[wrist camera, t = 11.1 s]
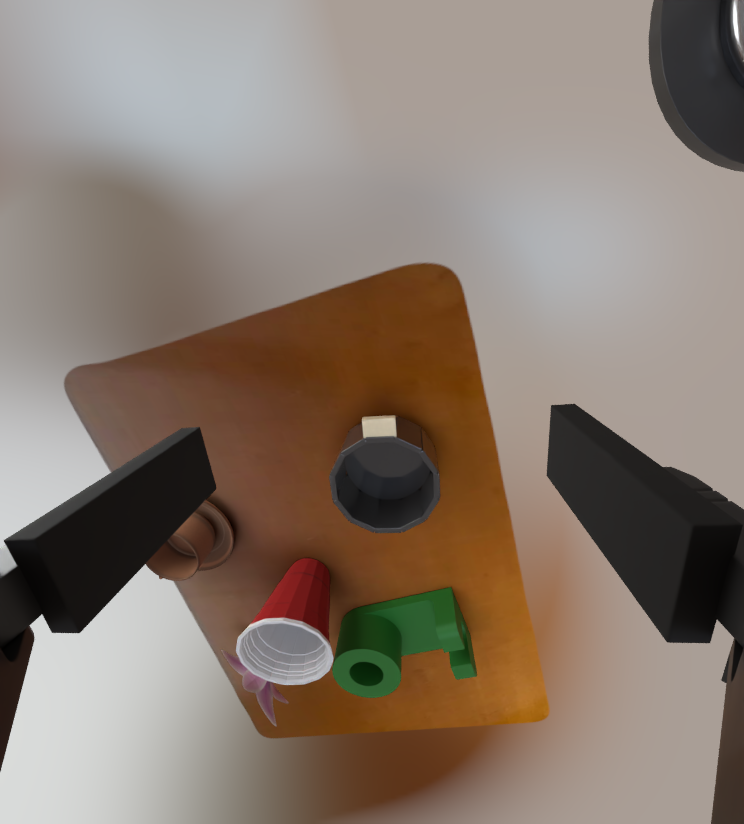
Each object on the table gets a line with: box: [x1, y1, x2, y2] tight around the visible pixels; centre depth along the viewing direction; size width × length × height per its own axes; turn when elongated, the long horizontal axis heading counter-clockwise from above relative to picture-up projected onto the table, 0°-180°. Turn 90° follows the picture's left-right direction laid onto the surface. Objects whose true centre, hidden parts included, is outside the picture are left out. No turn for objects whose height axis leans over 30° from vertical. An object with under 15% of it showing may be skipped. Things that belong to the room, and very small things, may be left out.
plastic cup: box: [236, 558, 333, 685], centre depth 45 cm, size 11×11×12 cm
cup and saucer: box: [146, 500, 234, 581], centre depth 47 cm, size 12×12×6 cm
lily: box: [221, 649, 289, 726], centre depth 52 cm, size 12×12×10 cm
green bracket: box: [332, 587, 477, 698], centre depth 49 cm, size 18×9×6 cm, turn 111°
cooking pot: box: [329, 415, 440, 533], centre depth 39 cm, size 13×11×6 cm
